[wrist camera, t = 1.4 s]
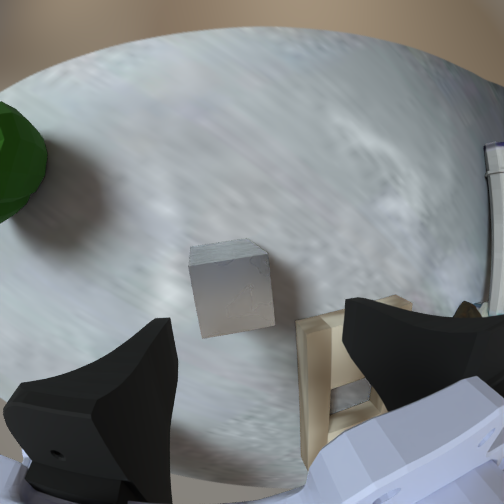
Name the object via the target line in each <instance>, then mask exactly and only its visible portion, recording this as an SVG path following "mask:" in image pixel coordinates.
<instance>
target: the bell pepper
mask: <svg viewBox="0 0 504 504" xmlns="http://www.w3.org/2000/svg"><path fill="white" fill-rule="evenodd" d="M47 156H48V154H47V150H46V147H45V143H44V139H43V137H42V136H41V135H40V133H39V132H38V131H37V129H36V128H35V127H34V126H33V125H32V124H31V123H30V122H29V121H28V120H27V119H26V118H25V117H24V116H23V115H22V114H21V113H20V112H18V111H17V110H16V109H15V108H13V107H11V106H9V105H7V104H5V103H4V102H2V101H1V102H0V223H2V222H4V221H5V220H7V219H8V218H10V217H11V216H13V215H14V214H16V213H17V212H18V211H19V210H20V209H21V208H22V207H24V206H25V205H26V204H27V202H28V200H29V198H30V194H32V193H34V192H36V190H37V189H38V187H39V185H40V183H41V181H42V180H43V178H44V176H45V169H46V163H47Z"/></svg>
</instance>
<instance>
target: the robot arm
mask: <svg viewBox="0 0 504 504" xmlns="http://www.w3.org/2000/svg"><path fill="white" fill-rule="evenodd" d="M342 342H343V344H344V346H345V348H346V350H347V352H348V354H349V356H350V358H351V359H352V360H353V362H354V363H355V364H356V366H357V367H358V368H359V370H360V371H361V372H362V374H363V375H364V376H365V378H366V379H367V380H368V381H369V383H370V384H371V385H372V387H373V388H374V389H375V391H376V392H377V394H378V395H379V397H380V398H381V400H382V402H383V403H384V405H385V407H386V409H387V411H388V412H387V413H384V414H381V415H379V416H376V417H373V418H370V419H368V420H366V421H364V422H362V423H360V424H358V425H355V426H353V427H351V428H349V429H347V430H344V431H343V432H342V433H341V434H339V435H338V436H337V437H336V438H334V439H333V440H332V441H330V442H329V443H328V444H326V445H325V446H324V447H323V448H322V449H321V450H320V452H319V453H318V455H317V457H316V458H315V460H314V461H313V463H312V464H311V466H310V467H309V471H308V476H307V481H306V484H305V485H303V486H300V487H297V488H295V489H292V490H289V491H286V492H283V493H280V494H276V495H273V496H270V497H266V498H263V499H259V500H253V501H246V502H235V503H223V504H504V314H502V315H496V316H489V317H477V318H455V317H441V316H434V315H428V314H422V313H418V312H413V311H409V310H405V309H402V308H398V307H394V306H391V305H388V304H384V303H381V302H377V301H374V300H370V299H366V298H359V297H357V298H351V299H346V300H345V312H344V323H343V333H342ZM177 382H178V357H177V352H176V347H175V341H174V336H173V331H172V325H171V319H170V318H155V319H154V320H152V321H151V322H149V323H148V324H147V325H146V326H145V327H143V328H142V329H141V330H140V331H139V332H137V333H136V334H135V335H134V336H133V337H131V338H130V339H129V340H127V341H126V342H125V343H123V344H122V345H121V346H119V347H118V348H116V349H115V350H113V351H112V352H110V353H109V354H107V355H105V356H104V357H102V358H100V359H98V360H96V361H94V362H92V363H90V364H88V365H86V366H83V367H81V368H79V369H76V370H74V371H71V372H68V373H65V374H62V375H58V376H55V377H51V378H47V379H42V380H36V381H31V382H24V383H21V384H20V385H19V386H18V388H17V389H16V391H15V392H14V393H13V395H12V396H11V398H10V399H9V401H8V402H7V404H6V405H5V407H4V409H3V415H4V419H5V422H6V425H7V427H8V428H9V430H10V432H11V434H12V435H13V436H14V438H15V439H16V441H17V442H18V443H19V444H20V446H21V447H22V454H23V457H24V460H23V461H22V463H20V462H18V461H16V460H13V459H11V458H8V457H5V456H3V455H1V454H0V504H172V495H171V480H170V425H171V418H172V412H173V406H174V400H175V394H176V388H177Z"/></svg>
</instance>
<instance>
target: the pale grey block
mask: <svg viewBox="0 0 504 504" xmlns="http://www.w3.org/2000/svg"><path fill="white" fill-rule="evenodd" d="M188 267H189V273H190V278H191V284H192V289H193V295H194V300H195V305H196V311H197V316H198V321H199V326H200V330H201V335H202V339H203V338H209V337H215V336H221V335H227V334H233V333H238V332H244V331H249V330H254V329H260V328H265V327H270V326H275V317H274V306H273V297H272V287H271V277H270V268H269V258H268V253H266V252H265V251H264V250H262V249H261V248H260V247H258V246H257V245H256V244H254V243H253V242H251V241H250V240H249V239H247V238H245V239H238V240H232V241H225V242H218V243H212V244H205V245H198V246H192V247H190V255H189V265H188Z"/></svg>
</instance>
